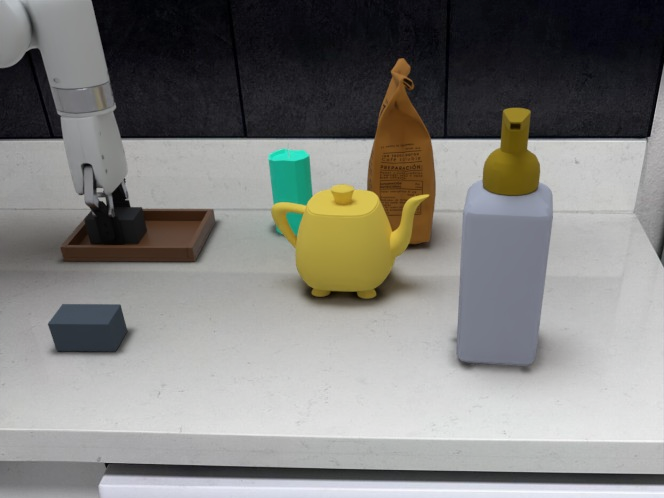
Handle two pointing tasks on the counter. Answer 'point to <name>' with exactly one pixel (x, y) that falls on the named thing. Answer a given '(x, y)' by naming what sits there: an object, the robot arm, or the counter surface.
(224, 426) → the counter surface
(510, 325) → the soap bottle
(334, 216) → the teapot
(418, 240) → the coffee package
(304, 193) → the candle
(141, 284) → the counter surface
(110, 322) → the blue gray block
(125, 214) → the black rectangular block
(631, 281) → the counter surface
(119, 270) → the counter surface
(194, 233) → the brown shallow rectangular tray
